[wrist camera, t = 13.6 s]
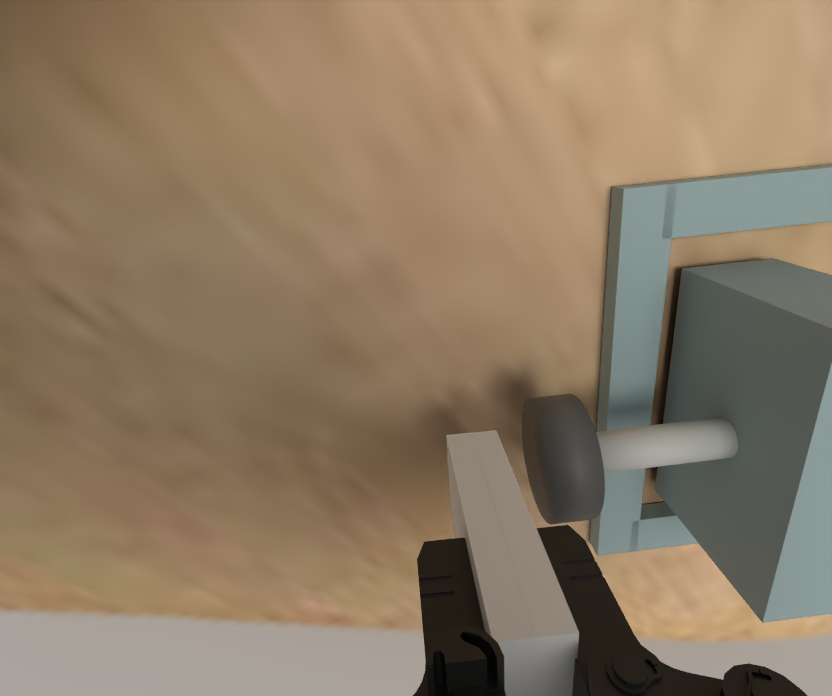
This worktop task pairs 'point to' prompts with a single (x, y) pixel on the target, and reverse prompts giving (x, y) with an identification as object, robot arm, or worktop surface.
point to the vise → (644, 303)
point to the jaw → (723, 435)
